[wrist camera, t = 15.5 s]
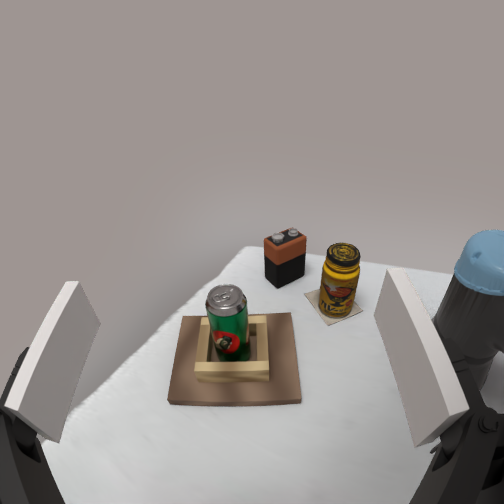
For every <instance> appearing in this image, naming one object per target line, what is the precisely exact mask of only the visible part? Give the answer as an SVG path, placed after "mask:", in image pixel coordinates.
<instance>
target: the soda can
mask: <svg viewBox="0 0 504 504" xmlns="http://www.w3.org/2000/svg"><path fill="white" fill-rule="evenodd" d="M205 305H206V311H207V315H208V320H209V324H210V328H211V333H212V337H213V341H214V346H215V350H216V354H217V357H218V359H219V360H220V361H221V362H246V361H247V360H248V359H249V357H250V355H251V343H250V332H249V321H248V310H247V300H246V297H245V295H244V294H243V293H242V291H241V289H240V288H239V287H237V286H235V285H231V284H223V285H219V286H216V287H214V288H213V289H212V290H211V291H210V292H209V293H208V296H207V300H206V304H205Z"/></svg>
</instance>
